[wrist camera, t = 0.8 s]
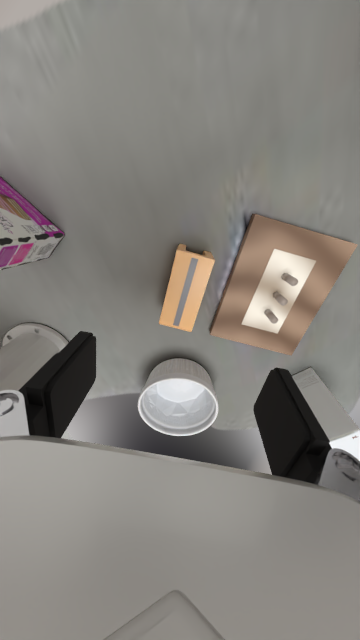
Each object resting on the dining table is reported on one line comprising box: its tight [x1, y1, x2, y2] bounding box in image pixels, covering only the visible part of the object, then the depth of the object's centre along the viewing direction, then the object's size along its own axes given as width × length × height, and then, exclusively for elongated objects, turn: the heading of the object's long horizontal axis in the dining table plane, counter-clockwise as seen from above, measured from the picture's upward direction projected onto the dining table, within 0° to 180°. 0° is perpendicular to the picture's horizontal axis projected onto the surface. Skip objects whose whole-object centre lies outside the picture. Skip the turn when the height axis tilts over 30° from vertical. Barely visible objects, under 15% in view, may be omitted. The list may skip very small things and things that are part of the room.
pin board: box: [209, 214, 357, 355], centre depth 30 cm, size 18×14×4 cm
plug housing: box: [159, 244, 215, 332], centre depth 30 cm, size 10×5×6 cm, turn 165°
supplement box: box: [292, 367, 360, 461], centre depth 35 cm, size 7×7×13 cm
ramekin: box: [138, 358, 218, 436], centre depth 38 cm, size 13×13×7 cm
